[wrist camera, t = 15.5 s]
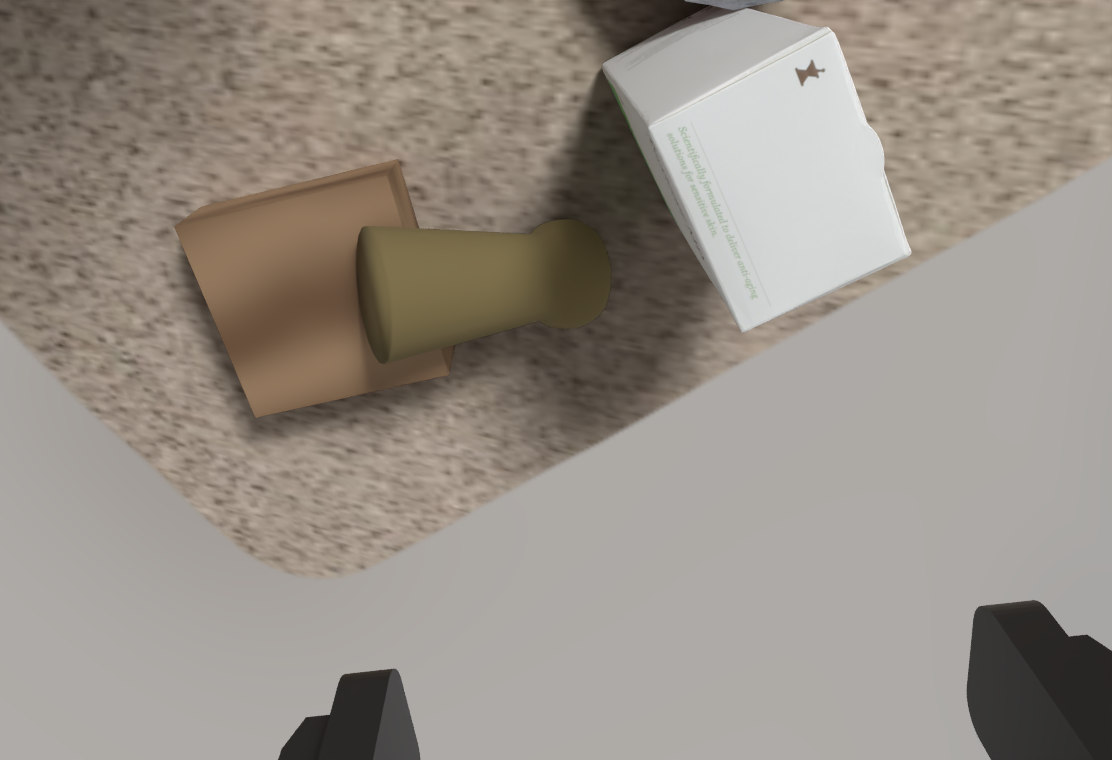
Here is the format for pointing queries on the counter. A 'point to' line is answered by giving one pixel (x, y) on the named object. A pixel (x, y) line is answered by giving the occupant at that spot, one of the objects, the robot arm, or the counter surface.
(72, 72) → the counter surface
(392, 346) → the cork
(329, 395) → the walnut block
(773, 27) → the skincare box
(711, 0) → the canned food
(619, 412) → the counter surface
